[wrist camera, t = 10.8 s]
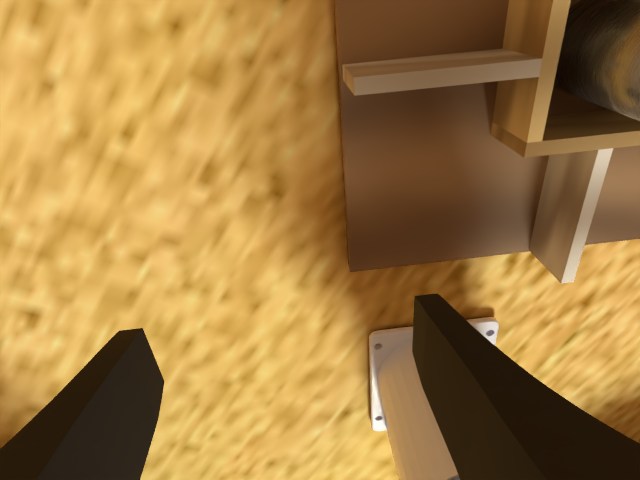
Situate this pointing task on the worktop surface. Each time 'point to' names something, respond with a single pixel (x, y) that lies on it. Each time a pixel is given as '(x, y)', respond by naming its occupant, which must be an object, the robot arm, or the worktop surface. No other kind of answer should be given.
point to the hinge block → (474, 137)
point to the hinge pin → (602, 55)
